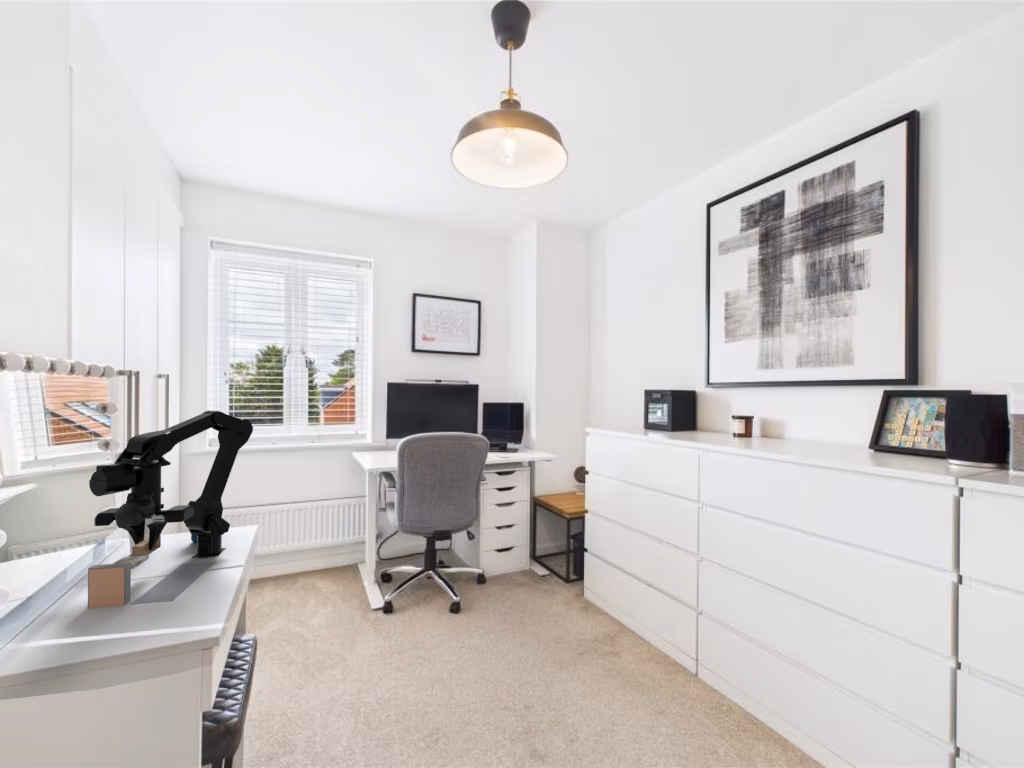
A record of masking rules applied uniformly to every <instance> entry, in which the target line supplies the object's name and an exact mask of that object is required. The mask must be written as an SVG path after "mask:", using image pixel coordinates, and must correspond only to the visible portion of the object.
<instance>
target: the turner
mask: <svg viewBox="0 0 1024 768" xmlns="http://www.w3.org/2000/svg"><path fill="white" fill-rule="evenodd" d="M161 541H162V539H161V534H160V536H159V538H158V540H157V542H156V544H155V546H154V548H153V549H152V550H149V537H148V538H147V539H145V540H143V541H141V542H140V543H138V544H136V545H135V546H133V547H132V555H131V556H129V555H128V556H124V557H122V558H120V559H119V560H116V561H115V562H113V563H112V564H120V563H131V570H134V569H135V568H137V567H138V566H140V565H141V564H143V563H145V562H146V561H147V560H149V558H150V554H152V553H153V552H155V551H156V550H159V548H161V546H162V545H161V544H162V543H161Z"/></svg>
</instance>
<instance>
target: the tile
mask: <svg viewBox="0 0 1024 768" xmlns="http://www.w3.org/2000/svg"><path fill="white" fill-rule="evenodd" d="M131 570H132V569H131V563H120V564H113V563H108V564H107V563H106V564H95V565H94V564H93V565H92V566H90V567H88V568H87V609H88V608H101V607H102V608H103V607H104V608H105V607H116V606H124V605H127V604H128V603H130V602H131V600H132V599H131V596H132V594H131V591H132V589H131V587H132V586H131V579H132V578H131V576H132V571H131Z"/></svg>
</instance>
